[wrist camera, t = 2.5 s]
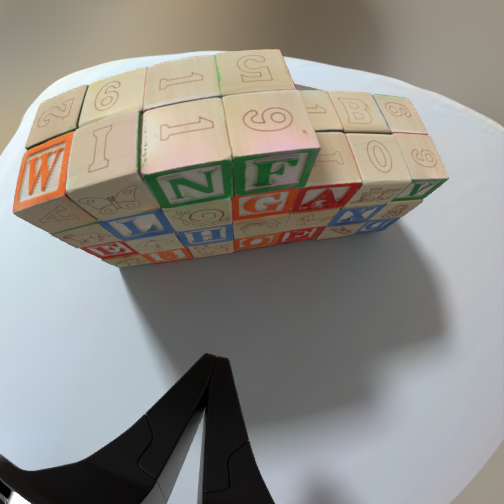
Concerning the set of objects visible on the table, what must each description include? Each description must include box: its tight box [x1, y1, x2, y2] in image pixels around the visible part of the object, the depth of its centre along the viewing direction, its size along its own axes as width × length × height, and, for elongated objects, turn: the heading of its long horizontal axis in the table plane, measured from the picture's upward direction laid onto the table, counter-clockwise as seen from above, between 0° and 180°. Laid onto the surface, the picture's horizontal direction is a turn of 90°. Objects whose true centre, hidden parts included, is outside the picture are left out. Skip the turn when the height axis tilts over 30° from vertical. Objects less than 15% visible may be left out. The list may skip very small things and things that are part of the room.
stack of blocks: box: [13, 49, 449, 268], centre depth 15 cm, size 21×6×12 cm, turn 99°
